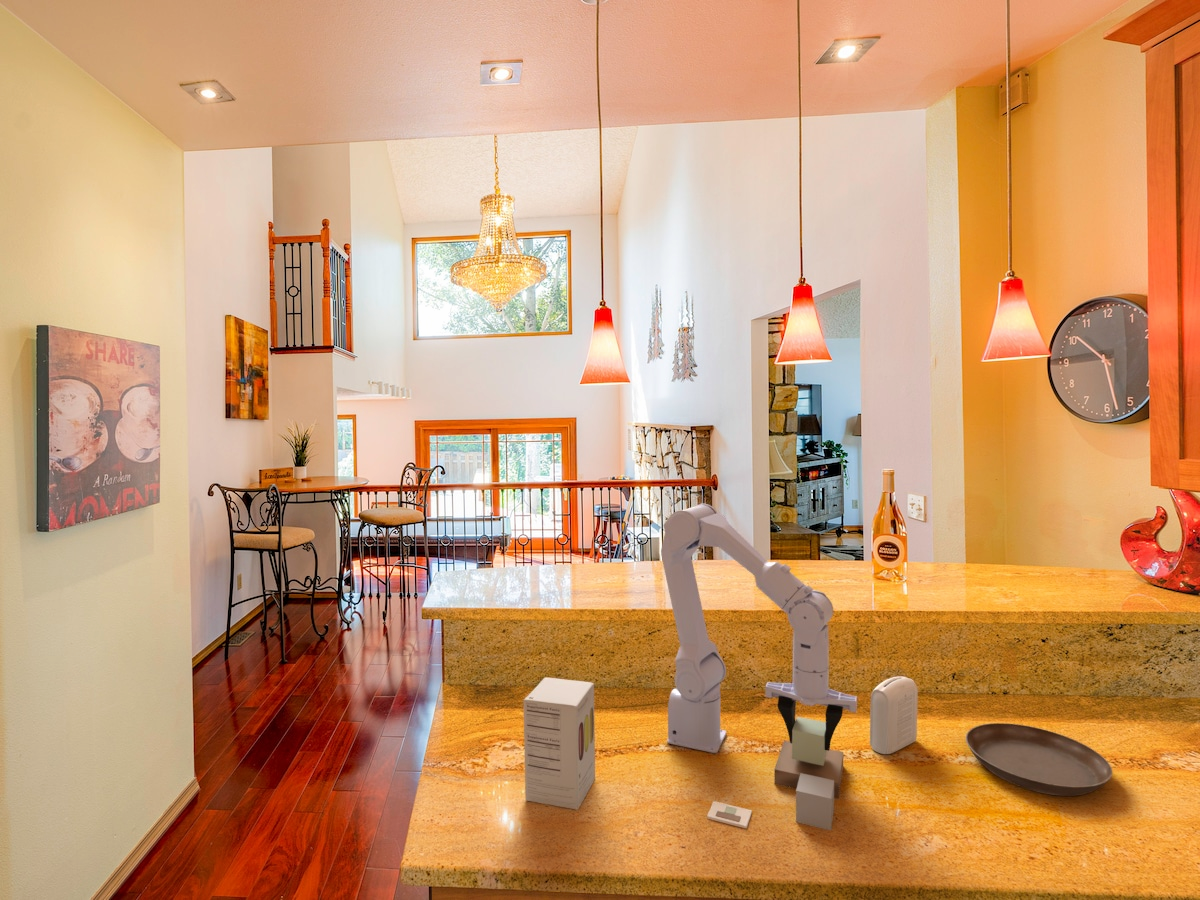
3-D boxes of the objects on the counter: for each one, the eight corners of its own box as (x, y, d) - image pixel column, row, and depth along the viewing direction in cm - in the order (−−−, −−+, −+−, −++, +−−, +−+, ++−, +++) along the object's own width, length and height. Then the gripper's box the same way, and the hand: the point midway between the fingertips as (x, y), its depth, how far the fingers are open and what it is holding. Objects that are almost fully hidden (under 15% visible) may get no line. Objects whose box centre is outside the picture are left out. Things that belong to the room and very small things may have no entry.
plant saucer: (955, 730, 123) (955, 714, 123) (1084, 748, 116) (1084, 730, 116) (979, 792, 104) (979, 772, 103) (1135, 818, 97) (1136, 797, 97)
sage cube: (791, 758, 107) (792, 729, 107) (796, 744, 112) (797, 716, 111) (823, 765, 105) (823, 736, 105) (826, 750, 110) (827, 722, 109)
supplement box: (578, 811, 100) (576, 707, 99) (523, 801, 103) (521, 699, 101) (596, 777, 109) (595, 681, 108) (546, 769, 112) (544, 675, 111)
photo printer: (898, 731, 123) (899, 668, 122) (920, 741, 119) (921, 676, 118) (865, 748, 117) (867, 682, 116) (887, 758, 113) (889, 690, 113)
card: (707, 818, 98) (707, 815, 98) (713, 803, 101) (713, 800, 101) (746, 828, 95) (746, 825, 95) (751, 812, 99) (751, 809, 99)
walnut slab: (774, 786, 106) (774, 769, 106) (784, 756, 116) (784, 740, 115) (838, 801, 102) (838, 783, 102) (843, 768, 111) (843, 751, 111)
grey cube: (795, 822, 97) (796, 790, 96) (800, 803, 101) (800, 773, 101) (830, 831, 95) (831, 798, 94) (833, 811, 99) (834, 780, 99)
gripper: (762, 668, 107) (761, 746, 108) (855, 682, 101) (854, 765, 102) (769, 652, 113) (769, 727, 114) (857, 665, 107) (856, 743, 108)
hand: (809, 744), depth 108 cm, fingers closed on sage cube, 5 cm apart
